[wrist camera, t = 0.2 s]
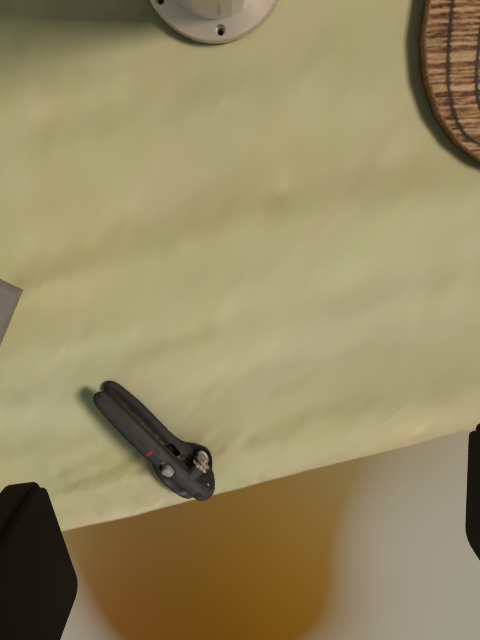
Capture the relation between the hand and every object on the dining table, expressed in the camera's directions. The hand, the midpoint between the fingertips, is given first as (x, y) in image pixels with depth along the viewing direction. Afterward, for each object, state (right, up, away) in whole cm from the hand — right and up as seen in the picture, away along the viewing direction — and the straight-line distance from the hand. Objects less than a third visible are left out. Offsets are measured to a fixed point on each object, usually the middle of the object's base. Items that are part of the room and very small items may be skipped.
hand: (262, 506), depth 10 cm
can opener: (-10, -9, +42) cm, 44 cm away
